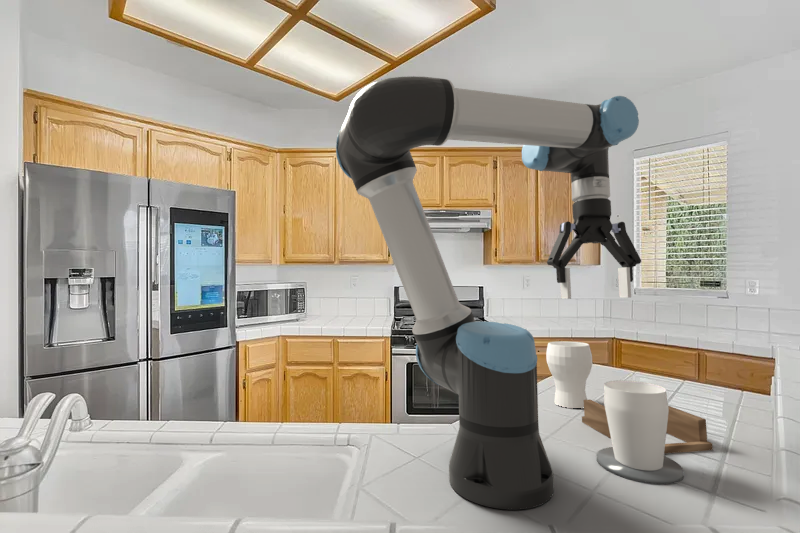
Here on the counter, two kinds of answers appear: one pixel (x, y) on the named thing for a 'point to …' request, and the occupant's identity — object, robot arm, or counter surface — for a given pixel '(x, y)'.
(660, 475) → the trivet
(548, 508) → the counter surface
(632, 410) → the cup
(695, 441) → the cradle
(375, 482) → the counter surface
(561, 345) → the cup
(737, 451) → the counter surface
